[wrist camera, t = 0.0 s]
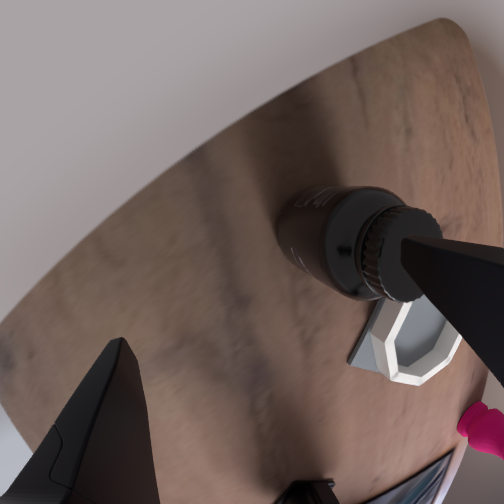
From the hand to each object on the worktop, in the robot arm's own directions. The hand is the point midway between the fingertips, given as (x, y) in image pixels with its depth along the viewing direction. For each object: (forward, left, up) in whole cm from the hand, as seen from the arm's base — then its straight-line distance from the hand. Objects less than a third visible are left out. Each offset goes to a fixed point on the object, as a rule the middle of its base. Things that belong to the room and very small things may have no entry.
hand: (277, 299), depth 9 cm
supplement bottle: (+4, -7, -16) cm, 18 cm away
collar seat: (0, -22, -15) cm, 27 cm away
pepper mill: (-11, -48, -16) cm, 52 cm away
